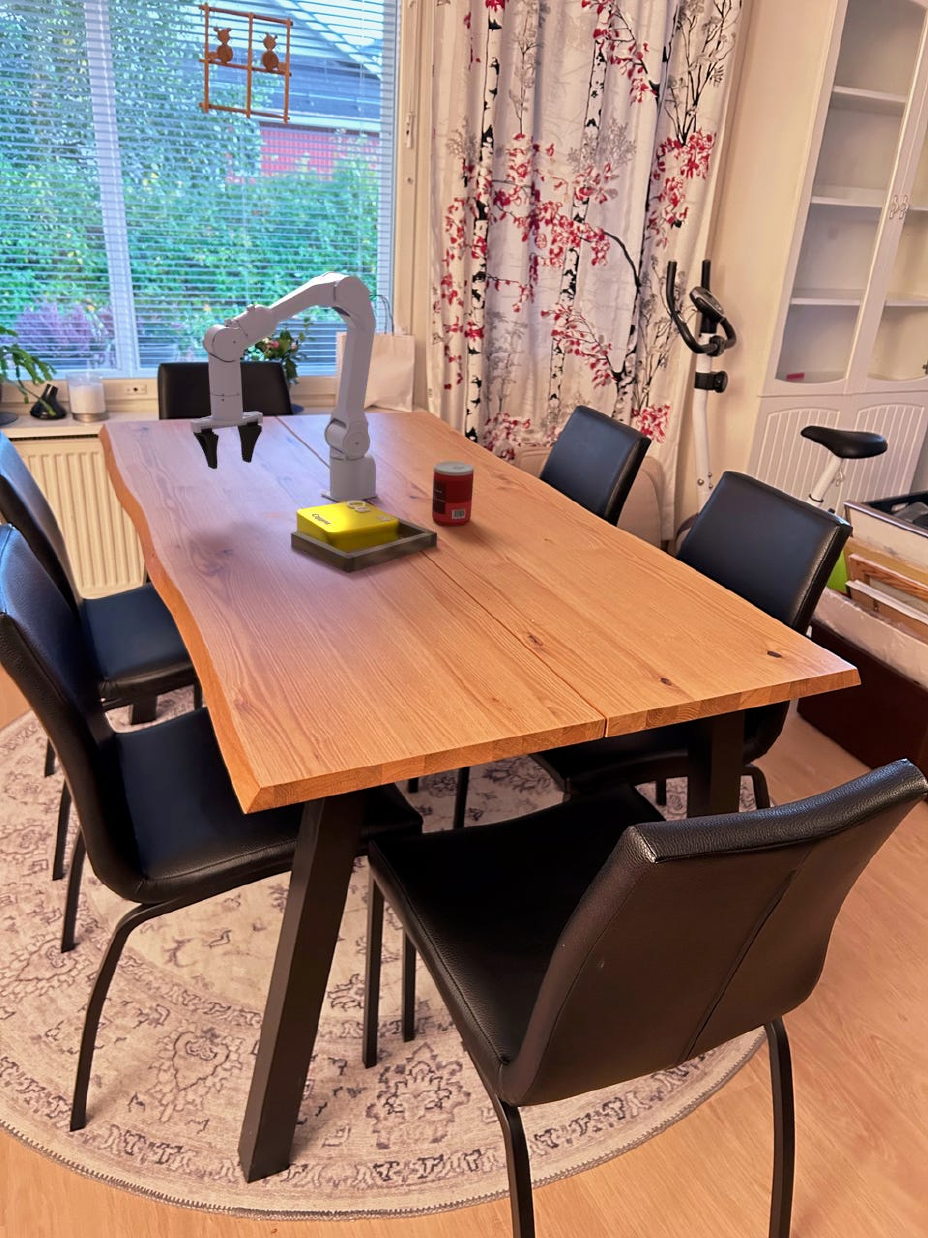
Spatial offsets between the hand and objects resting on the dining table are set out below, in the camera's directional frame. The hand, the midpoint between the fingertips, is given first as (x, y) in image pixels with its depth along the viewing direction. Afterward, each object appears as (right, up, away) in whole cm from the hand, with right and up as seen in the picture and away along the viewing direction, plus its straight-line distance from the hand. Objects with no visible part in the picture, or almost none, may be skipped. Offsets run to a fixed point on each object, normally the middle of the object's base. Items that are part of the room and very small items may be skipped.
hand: (230, 464), depth 172 cm
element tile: (+23, -15, -4) cm, 28 cm away
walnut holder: (+27, -16, -9) cm, 32 cm away
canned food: (+42, -10, +7) cm, 44 cm away
